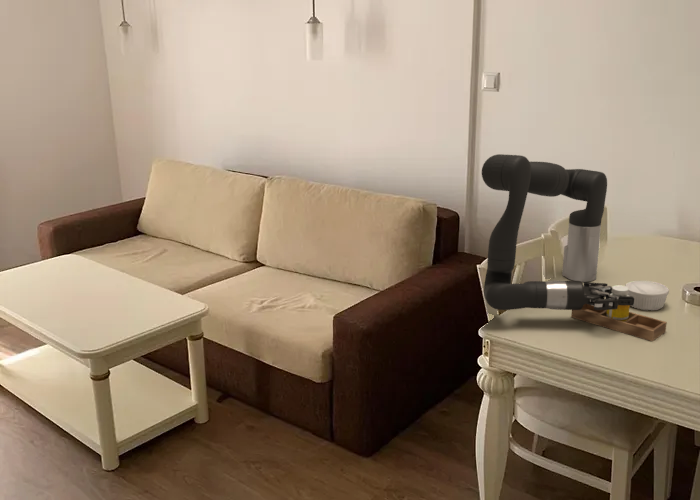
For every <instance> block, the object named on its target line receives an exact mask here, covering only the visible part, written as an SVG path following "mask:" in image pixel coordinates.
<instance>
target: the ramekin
mask: <svg viewBox="0 0 700 500" xmlns="http://www.w3.org/2000/svg"><path fill="white" fill-rule="evenodd" d="M624 286H626V287H628V288H629V292H628V294H627V295H628V296H632V297H634V304H633V305H630V307H631V306H632V308H633V307H634V309H636V308H637V310H640V309H641V311H648V310H651V311H658V310H661V309H662V308H663V307H664V306H665V303H666V300H667V297H668V295H669V294H670V293H669V292H670V289H669V288H668V286H667V285H664V283H663V284H662V283H660V282H656V281H652V280H633V281H628V282H626V284H624Z"/></svg>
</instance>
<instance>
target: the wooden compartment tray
mask: <svg viewBox="0 0 700 500" xmlns="http://www.w3.org/2000/svg"><path fill="white" fill-rule="evenodd" d="M606 314H607V310H594V306H593V305H589V304H584V305H583V308H582V309H581V310H571V317H570V318H574V319H576V320H579V321H582V322H587V323H589V324H593V325H596V326H600V327H604V328H606V329H610V330H613V331H617V332H620V333H623V334H626V335H629V336H633V337H637V338H640V339H643V340H647V341H650V342H653V341H654V340H656V339H657V338H659V337H660V336H662V335H664V334H665V333H666V332H667V331H666V330H667V321H664V320H661V319H657V318H654V317H649V316H646V315H643V314H639V313H635V312H632V311H629V317H628V320H626V321H625V322H623V321H620V320H616V319H613V318H609V317H606Z"/></svg>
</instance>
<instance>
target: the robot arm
mask: <svg viewBox="0 0 700 500" xmlns="http://www.w3.org/2000/svg"><path fill="white" fill-rule="evenodd" d="M481 178H482V180H483V182H484V184H485V185H486V186H487V187H489V188H490V189H492V190H495V191H502V192H503V191H504V192H508V198H507V199H508V201H507V204H506V208H505V209H504V211H503V213H502V216H501V217H500V219H499V220H498V222H497V223H496V225H495V226H494V228H493V229H492V232H491V234H490V237H489V239H488V248H487V262H486V263H487V267H486V273H485V278H484V283H483V285H484V286H483V296H484V298H485V301H486V303H487V304H488V306H489V307H491V308H492V309H495V310H499V311H501V310H502V311H511V310H520V309H521V310H522V309H526V308H527V309H547V310H556V311H557V310H561V311H563V310H564V311H565V310H566V311H569V310H570V311H572V310H581V309H582V308H583V305H584V304H589V305H593V306H594V310H611V309H617V308H618V305H633V304H634V297H632V296H614V295H610V294H611V293H612V287H613V286H612V285H608V283H605V282H604V283H603V282H593V281H595V280H596V279H597V273H598V262H599V253H600V251H599V250H600V243H601V242H600V240H601V230H602V229H601V227H602V220H603V219H602V218H603V215H604V213H605V203H606V198H607V197H606V196H607V192H608V191H607V190H608V178H607V175H606V174H605V173H604V172H602V171H597V170H591V169H585V168H584V169H583V168H572V169H570V168H569V169H566V168H565V167H564V166H562V165H560V164H557V163H553V162H547V161H530V160H529V159H528V158H527V157H526V156H524V155H520V154H519V155H517V154H504V153H503V154H494V155H492V156H489V157H488V158H487V159H486V160H485V161H484V163H483V164H482V167H481ZM528 194H533V195H536V196H537V195H538V196H543V197H558V196H560V195H561V196H565V197H567V198H570V199H572V200H576V201H581V202H586V205H585V208H584V209H578V210H574V211H571V213H570V214H569V216H568V217H569V218H568V229H567V231H568V232H567V243H566V245H565V246H564V247H563V259H562V270H561V271H562V272H561V276H562V277H565V278H566V279H568V280H546V281H544V280H542V281H541V280H539V281H538V280H535V281H534V280H532V281H531V280H529V281H525V282H523V283H512V272H513V270H514V268H515V264H516V253H517V242H518V237H519V230H520V225H521V221H522V216H523V213H524V209H525V206H526V201H527V196H528ZM609 298H611V299H609ZM612 302H613V303H612Z"/></svg>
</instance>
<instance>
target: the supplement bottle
mask: <svg viewBox="0 0 700 500" xmlns="http://www.w3.org/2000/svg"><path fill="white" fill-rule="evenodd" d="M628 292H629V288H628V287H626V286H625V285H621V284H620V285H619V284H617V285H613V286H612V293H611V294H610V295H614V296H628V295H627V294H628ZM609 299H611V298H609ZM612 303H613V302H612ZM630 307H631V306H630V305H618V308H617V309H611V310H607V314H606V317H609V318H613V319H616V320H620V321H623V322H625V321H626V320H628V317H629V312H630Z"/></svg>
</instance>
